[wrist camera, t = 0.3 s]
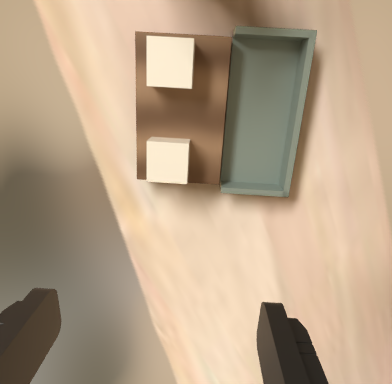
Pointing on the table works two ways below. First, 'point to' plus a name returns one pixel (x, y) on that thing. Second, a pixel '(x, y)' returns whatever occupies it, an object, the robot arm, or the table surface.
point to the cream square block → (168, 160)
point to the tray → (265, 108)
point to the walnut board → (186, 106)
